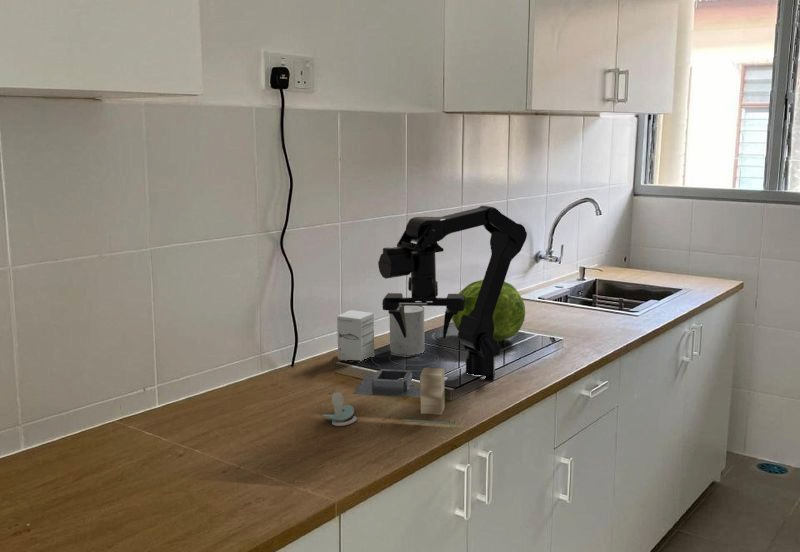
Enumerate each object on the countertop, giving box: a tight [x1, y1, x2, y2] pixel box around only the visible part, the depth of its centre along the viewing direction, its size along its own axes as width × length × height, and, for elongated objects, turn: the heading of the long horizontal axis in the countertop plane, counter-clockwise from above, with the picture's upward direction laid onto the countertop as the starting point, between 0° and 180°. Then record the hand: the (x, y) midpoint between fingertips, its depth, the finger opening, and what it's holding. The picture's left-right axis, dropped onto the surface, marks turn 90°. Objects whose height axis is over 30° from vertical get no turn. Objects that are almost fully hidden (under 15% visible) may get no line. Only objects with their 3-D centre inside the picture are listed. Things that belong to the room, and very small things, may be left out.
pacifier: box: [323, 392, 358, 427], centre depth 173 cm, size 7×6×6 cm
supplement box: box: [336, 309, 375, 361], centre depth 213 cm, size 7×7×13 cm
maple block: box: [419, 367, 445, 415], centre depth 176 cm, size 4×4×9 cm
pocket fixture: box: [351, 368, 421, 399], centre depth 192 cm, size 16×14×3 cm
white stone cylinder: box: [389, 306, 425, 355], centre depth 220 cm, size 10×10×12 cm
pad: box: [402, 418, 456, 426], centre depth 177 cm, size 11×11×1 cm
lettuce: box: [451, 279, 526, 343], centre depth 228 cm, size 19×23×18 cm
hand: (424, 337), depth 189 cm, fingers open, 9 cm apart
